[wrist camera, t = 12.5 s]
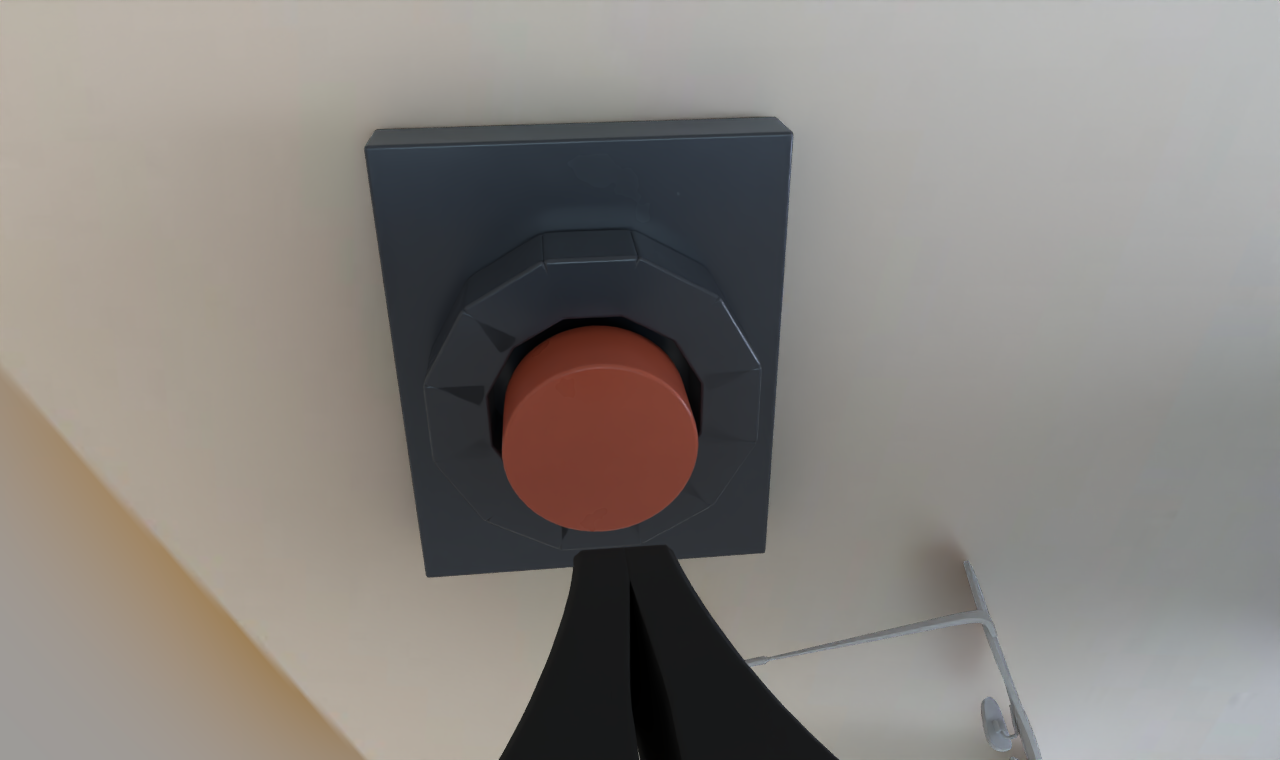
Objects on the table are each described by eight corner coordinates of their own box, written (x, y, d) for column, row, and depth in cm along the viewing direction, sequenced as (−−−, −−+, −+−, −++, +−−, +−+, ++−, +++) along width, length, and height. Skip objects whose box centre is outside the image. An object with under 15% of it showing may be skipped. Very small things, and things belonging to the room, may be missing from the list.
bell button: (683, 476, 20) (697, 526, 18) (510, 487, 19) (509, 539, 18) (686, 318, 18) (701, 359, 16) (496, 328, 18) (494, 371, 16)
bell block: (753, 519, 24) (781, 598, 21) (431, 541, 23) (418, 627, 20) (777, 116, 19) (817, 153, 16) (374, 128, 18) (348, 169, 16)
